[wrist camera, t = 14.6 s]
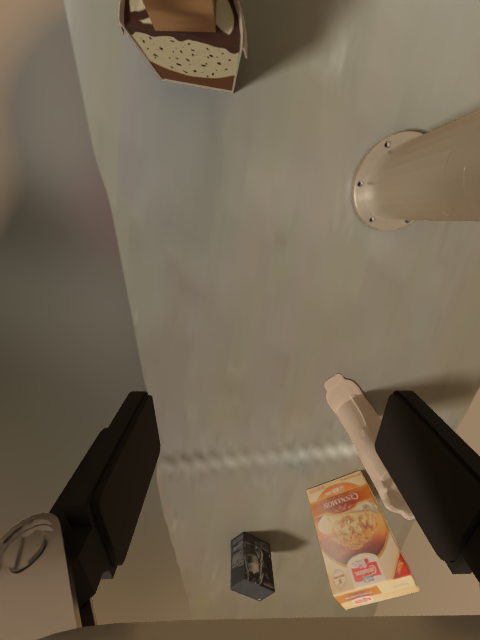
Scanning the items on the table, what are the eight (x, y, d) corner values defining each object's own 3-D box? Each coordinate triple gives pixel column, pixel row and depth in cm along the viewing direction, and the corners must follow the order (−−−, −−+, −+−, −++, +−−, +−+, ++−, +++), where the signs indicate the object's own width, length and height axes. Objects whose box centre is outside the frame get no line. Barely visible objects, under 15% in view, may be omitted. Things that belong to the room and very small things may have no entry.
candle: (346, 368, 49) (413, 460, 30) (374, 411, 53) (447, 514, 35) (315, 385, 50) (360, 483, 32) (344, 425, 55) (399, 531, 36)
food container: (251, 31, 29) (258, -55, 20) (244, 95, 32) (248, 45, 22) (148, 10, 29) (106, -88, 19) (149, 78, 31) (112, 19, 22)
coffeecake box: (360, 469, 60) (412, 575, 42) (369, 485, 63) (422, 592, 45) (305, 489, 63) (332, 597, 45) (315, 503, 66) (345, 611, 48)
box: (270, 543, 73) (276, 592, 63) (256, 552, 75) (259, 602, 65) (243, 530, 70) (245, 580, 60) (229, 540, 72) (228, 590, 62)
